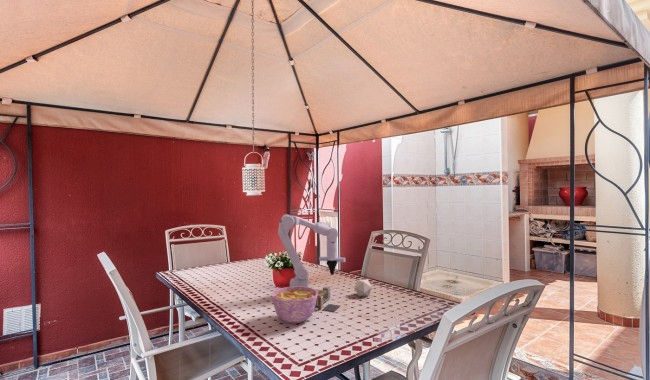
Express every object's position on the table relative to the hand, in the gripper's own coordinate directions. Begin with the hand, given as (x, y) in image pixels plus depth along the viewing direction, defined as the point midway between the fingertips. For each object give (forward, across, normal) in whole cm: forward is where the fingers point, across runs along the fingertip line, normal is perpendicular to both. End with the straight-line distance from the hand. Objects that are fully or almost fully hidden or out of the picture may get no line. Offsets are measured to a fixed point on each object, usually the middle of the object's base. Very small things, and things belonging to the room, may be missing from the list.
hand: (332, 274), depth 175 cm
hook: (+10, -4, -17) cm, 20 cm away
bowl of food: (+10, -6, -40) cm, 41 cm away
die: (+10, +17, -1) cm, 20 cm away
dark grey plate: (+10, +6, -23) cm, 25 cm away
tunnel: (+10, -1, -22) cm, 24 cm away
